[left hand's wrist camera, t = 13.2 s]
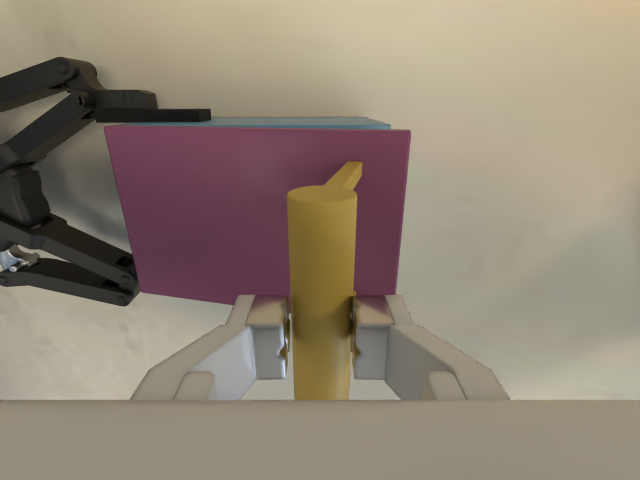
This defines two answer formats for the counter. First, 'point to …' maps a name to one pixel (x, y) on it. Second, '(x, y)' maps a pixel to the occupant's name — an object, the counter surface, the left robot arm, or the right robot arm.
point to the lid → (268, 224)
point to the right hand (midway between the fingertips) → (214, 193)
